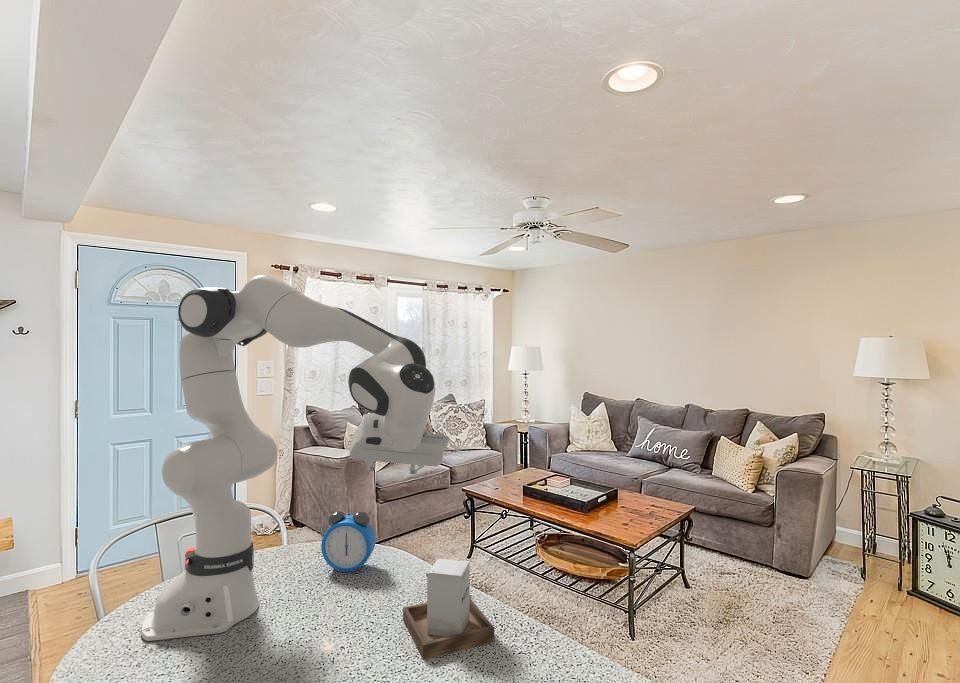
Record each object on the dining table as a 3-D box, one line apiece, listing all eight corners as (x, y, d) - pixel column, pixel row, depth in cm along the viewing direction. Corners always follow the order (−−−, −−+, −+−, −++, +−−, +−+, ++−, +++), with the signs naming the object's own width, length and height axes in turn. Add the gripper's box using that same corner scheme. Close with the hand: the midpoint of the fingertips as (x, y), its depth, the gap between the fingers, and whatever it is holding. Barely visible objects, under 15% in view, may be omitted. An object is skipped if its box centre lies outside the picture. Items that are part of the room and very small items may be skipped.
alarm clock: (320, 572, 132) (320, 515, 132) (328, 562, 138) (328, 507, 138) (370, 573, 131) (370, 515, 131) (376, 563, 138) (376, 508, 138)
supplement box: (461, 640, 101) (461, 576, 101) (425, 635, 103) (425, 572, 103) (470, 620, 108) (470, 560, 108) (437, 615, 110) (437, 557, 110)
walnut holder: (423, 659, 96) (423, 645, 96) (402, 620, 109) (402, 607, 109) (494, 641, 102) (494, 627, 102) (466, 606, 115) (466, 593, 115)
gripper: (450, 423, 112) (436, 462, 120) (355, 413, 107) (348, 455, 115) (451, 446, 107) (437, 485, 115) (352, 437, 102) (345, 478, 110)
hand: (392, 470), depth 115 cm, fingers open, 8 cm apart
